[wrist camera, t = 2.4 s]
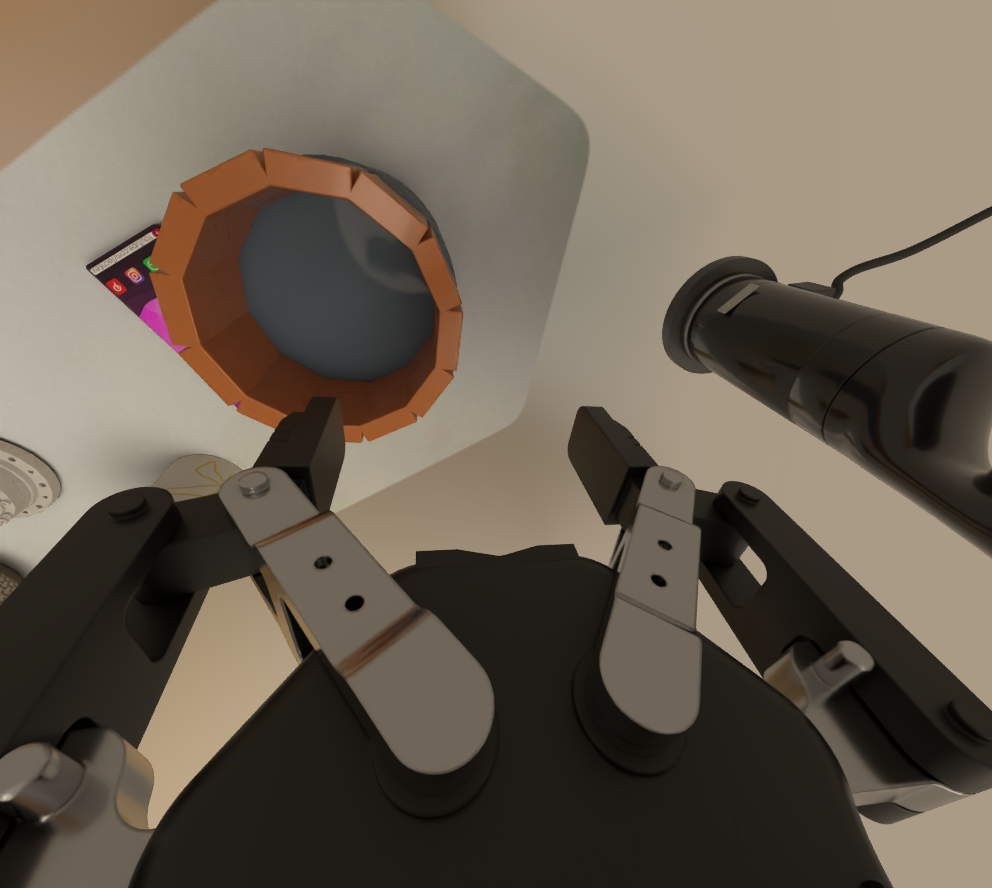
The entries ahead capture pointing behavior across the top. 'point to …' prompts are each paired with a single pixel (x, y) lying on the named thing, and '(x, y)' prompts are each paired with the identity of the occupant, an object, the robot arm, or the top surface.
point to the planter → (8, 582)
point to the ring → (237, 336)
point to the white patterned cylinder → (195, 476)
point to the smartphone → (135, 279)
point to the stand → (337, 284)
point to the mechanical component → (24, 483)
